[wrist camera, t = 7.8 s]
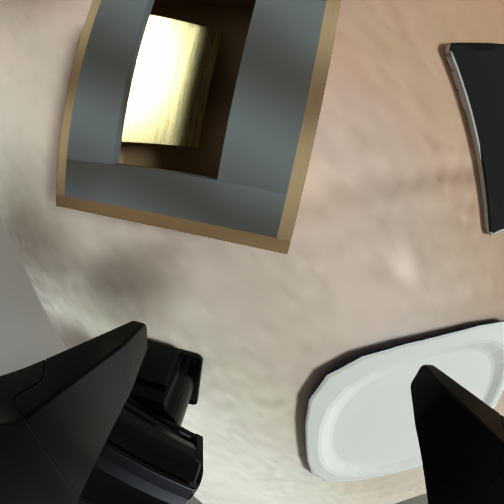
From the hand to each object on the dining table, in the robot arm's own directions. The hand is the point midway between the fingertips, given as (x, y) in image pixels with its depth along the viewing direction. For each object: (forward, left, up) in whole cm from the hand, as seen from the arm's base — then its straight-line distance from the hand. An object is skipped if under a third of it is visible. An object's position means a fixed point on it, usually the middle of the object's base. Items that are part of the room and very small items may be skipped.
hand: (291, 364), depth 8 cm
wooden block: (+8, +7, -11) cm, 15 cm away
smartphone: (+13, -16, -13) cm, 24 cm away
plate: (-17, -20, -13) cm, 29 cm away
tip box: (+8, +6, -12) cm, 16 cm away
